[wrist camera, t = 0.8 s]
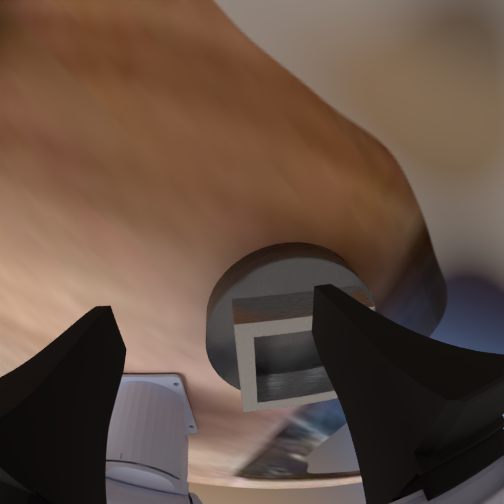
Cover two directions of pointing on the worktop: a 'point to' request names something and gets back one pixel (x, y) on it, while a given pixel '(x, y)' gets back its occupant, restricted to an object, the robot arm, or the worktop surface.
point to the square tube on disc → (275, 324)
